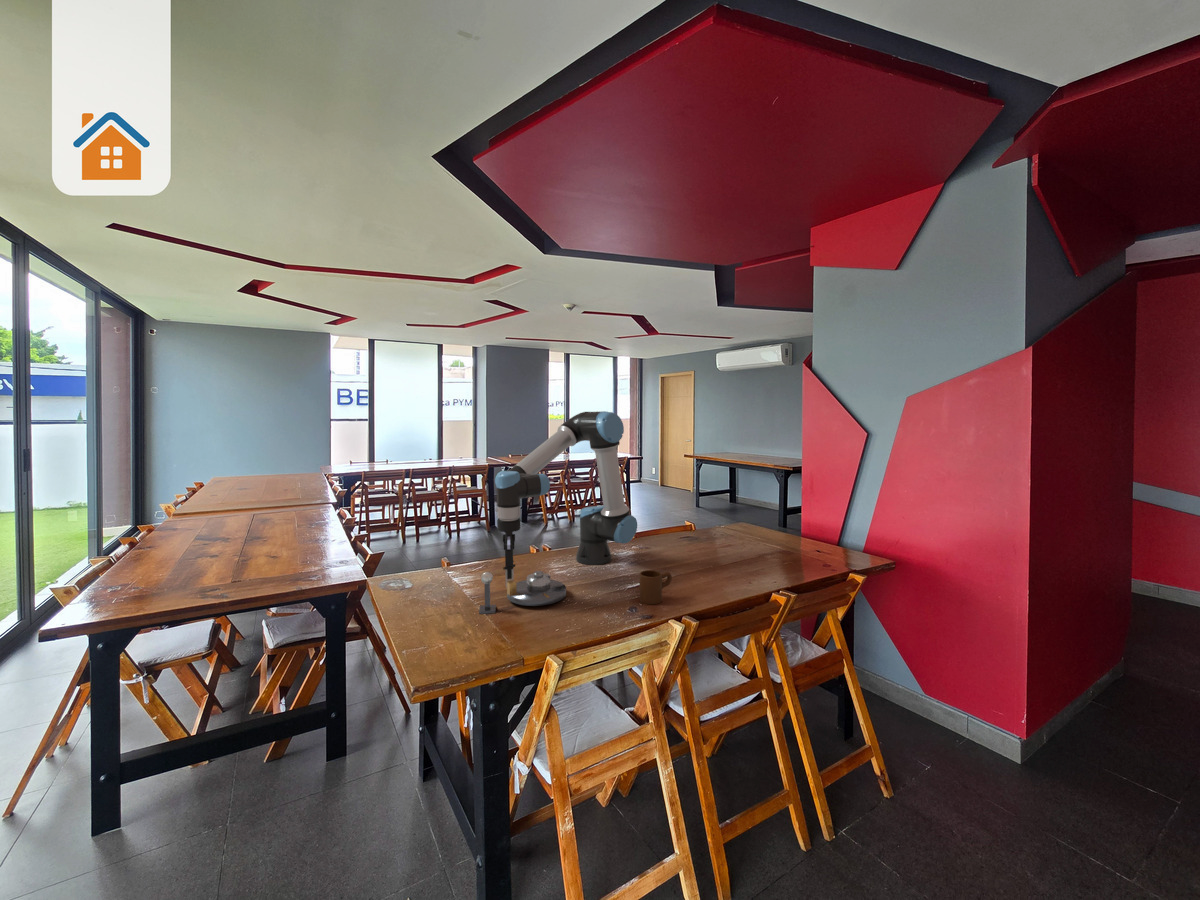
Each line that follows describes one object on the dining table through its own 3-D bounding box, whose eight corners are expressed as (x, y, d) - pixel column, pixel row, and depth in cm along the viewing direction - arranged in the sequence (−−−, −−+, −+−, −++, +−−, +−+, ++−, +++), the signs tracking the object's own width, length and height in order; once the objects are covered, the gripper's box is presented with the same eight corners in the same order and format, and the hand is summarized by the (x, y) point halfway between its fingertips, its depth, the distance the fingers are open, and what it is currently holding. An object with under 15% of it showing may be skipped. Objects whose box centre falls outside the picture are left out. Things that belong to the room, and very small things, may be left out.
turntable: (498, 590, 171) (497, 573, 171) (550, 580, 182) (550, 564, 181) (519, 610, 154) (519, 592, 154) (576, 598, 164) (576, 580, 164)
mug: (665, 593, 173) (665, 567, 172) (677, 600, 166) (677, 573, 165) (635, 598, 168) (635, 571, 167) (646, 606, 161) (646, 578, 160)
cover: (523, 586, 170) (523, 570, 169) (544, 582, 174) (544, 567, 173) (532, 593, 163) (531, 577, 162) (554, 589, 167) (553, 573, 166)
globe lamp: (480, 607, 159) (479, 569, 158) (495, 606, 160) (495, 568, 159) (479, 614, 155) (478, 574, 154) (495, 613, 155) (494, 573, 154)
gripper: (498, 514, 168) (499, 580, 171) (496, 523, 156) (497, 595, 158) (520, 513, 169) (521, 579, 172) (520, 522, 157) (521, 593, 159)
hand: (509, 586), depth 165 cm, fingers closed
